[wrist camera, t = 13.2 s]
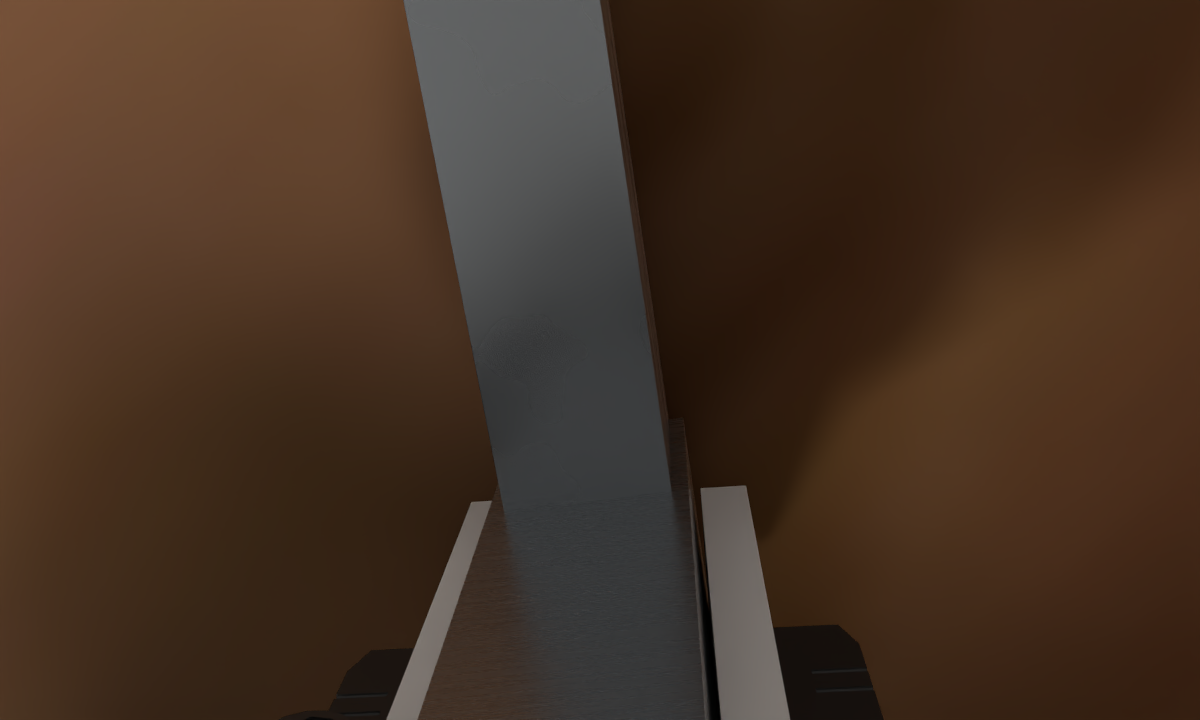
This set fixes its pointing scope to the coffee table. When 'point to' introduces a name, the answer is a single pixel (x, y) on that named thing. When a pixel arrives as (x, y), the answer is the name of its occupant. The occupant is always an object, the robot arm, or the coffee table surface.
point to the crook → (560, 381)
